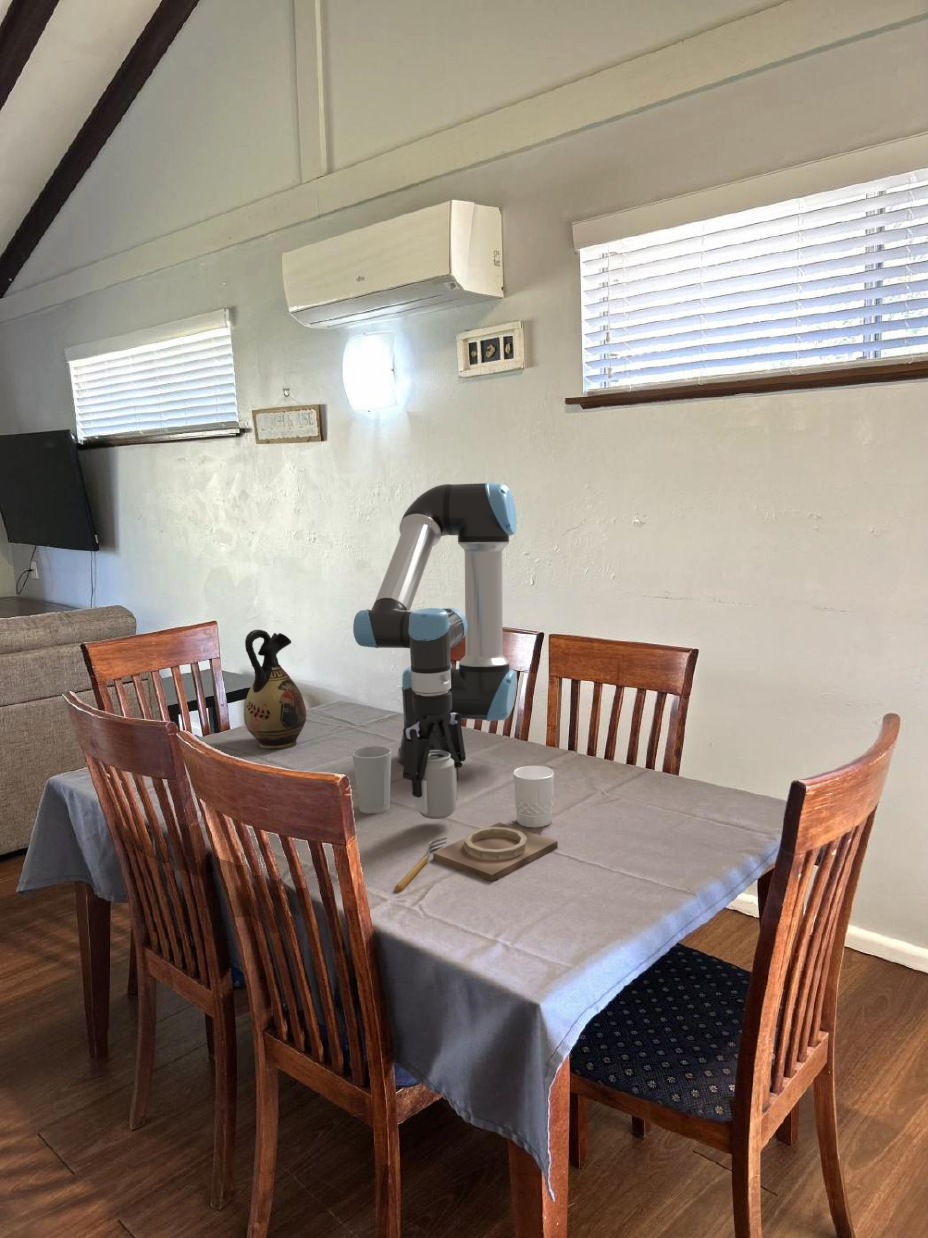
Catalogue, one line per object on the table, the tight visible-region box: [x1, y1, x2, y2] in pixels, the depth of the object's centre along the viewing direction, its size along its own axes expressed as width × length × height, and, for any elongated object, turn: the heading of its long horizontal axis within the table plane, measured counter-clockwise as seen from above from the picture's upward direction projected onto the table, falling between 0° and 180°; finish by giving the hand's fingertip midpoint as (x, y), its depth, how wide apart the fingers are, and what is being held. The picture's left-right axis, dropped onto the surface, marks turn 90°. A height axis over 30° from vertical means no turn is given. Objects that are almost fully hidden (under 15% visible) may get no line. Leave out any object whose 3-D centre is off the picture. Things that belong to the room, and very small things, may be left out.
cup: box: [351, 745, 392, 814], centre depth 189 cm, size 8×8×12 cm
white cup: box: [512, 765, 555, 828], centre depth 180 cm, size 8×8×10 cm
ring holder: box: [432, 821, 559, 882], centre depth 166 cm, size 18×14×3 cm
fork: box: [394, 837, 448, 893], centre depth 161 cm, size 2×2×20 cm
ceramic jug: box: [243, 629, 307, 749], centre depth 233 cm, size 17×15×30 cm
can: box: [417, 750, 457, 820], centre depth 178 cm, size 8×8×12 cm
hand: (436, 805), depth 179 cm, fingers closed on can, 7 cm apart
